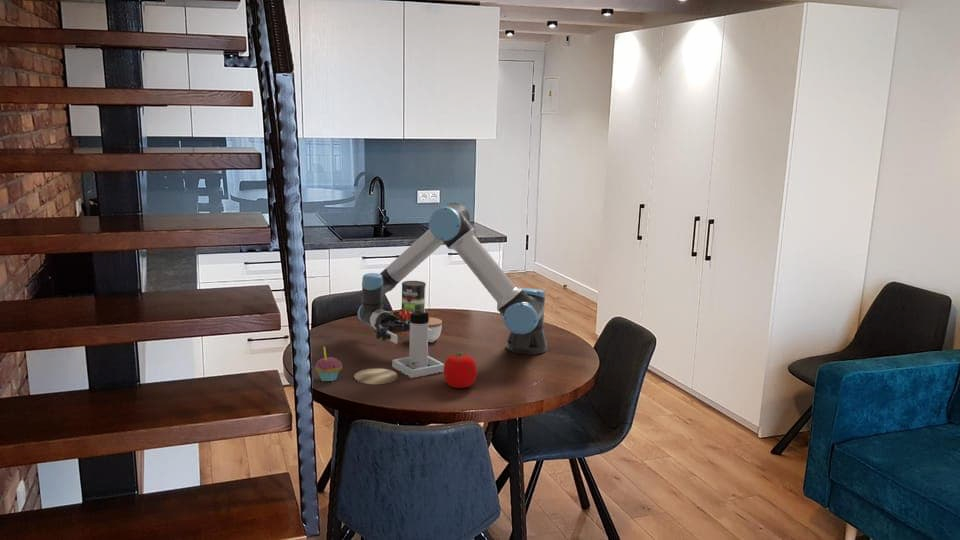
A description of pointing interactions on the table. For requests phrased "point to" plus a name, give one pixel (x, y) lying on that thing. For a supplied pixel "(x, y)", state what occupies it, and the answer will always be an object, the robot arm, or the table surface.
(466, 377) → the tomato
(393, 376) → the mat
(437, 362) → the grey square frame
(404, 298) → the coffee can
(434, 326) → the lidded jar
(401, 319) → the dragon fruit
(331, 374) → the cupcake
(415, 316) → the travel mug
